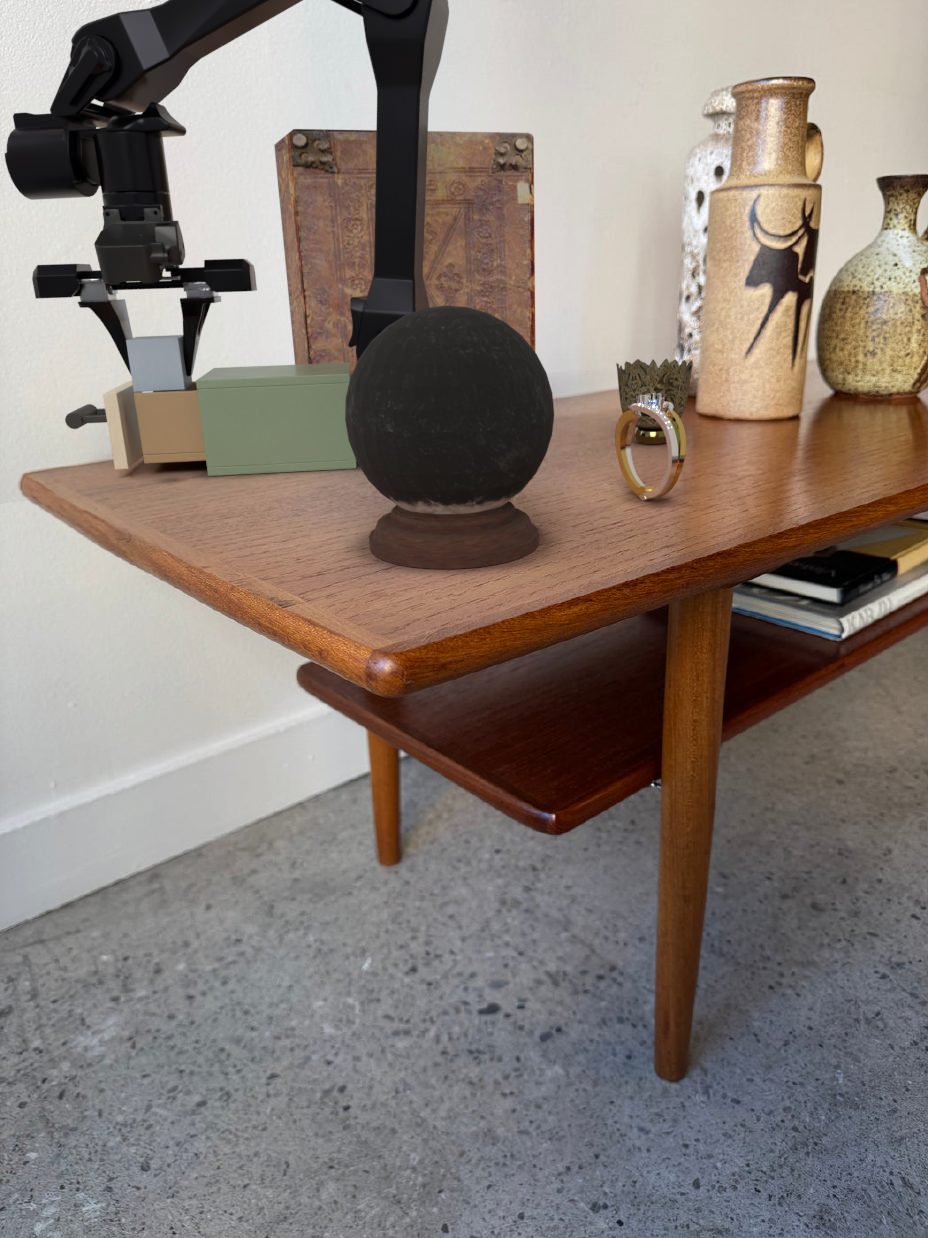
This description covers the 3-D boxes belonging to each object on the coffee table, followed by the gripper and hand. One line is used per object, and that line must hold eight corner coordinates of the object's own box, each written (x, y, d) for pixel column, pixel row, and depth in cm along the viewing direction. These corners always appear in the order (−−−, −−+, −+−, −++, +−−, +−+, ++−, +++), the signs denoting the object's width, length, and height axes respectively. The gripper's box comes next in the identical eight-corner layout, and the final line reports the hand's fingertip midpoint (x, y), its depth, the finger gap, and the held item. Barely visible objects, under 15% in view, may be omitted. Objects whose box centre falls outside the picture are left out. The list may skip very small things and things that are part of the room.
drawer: (66, 472, 83) (52, 395, 81) (95, 451, 93) (84, 382, 91) (253, 462, 85) (245, 387, 83) (263, 443, 95) (256, 375, 92)
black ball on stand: (469, 509, 70) (463, 300, 65) (595, 543, 60) (600, 301, 55) (317, 543, 62) (296, 309, 57) (434, 588, 53) (421, 312, 47)
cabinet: (207, 476, 84) (195, 380, 81) (223, 453, 95) (213, 367, 92) (356, 468, 86) (349, 373, 83) (355, 446, 97) (349, 362, 94)
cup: (639, 433, 99) (641, 356, 96) (702, 439, 95) (706, 358, 92) (601, 445, 94) (602, 364, 91) (666, 451, 89) (669, 366, 86)
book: (506, 417, 113) (502, 144, 102) (536, 427, 105) (536, 132, 94) (300, 434, 105) (273, 141, 95) (315, 447, 97) (288, 127, 87)
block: (192, 384, 89) (186, 334, 88) (184, 389, 85) (177, 337, 83) (143, 386, 89) (136, 336, 87) (133, 391, 84) (125, 339, 83)
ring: (605, 493, 74) (608, 390, 71) (639, 488, 75) (643, 387, 72) (654, 511, 68) (659, 400, 65) (691, 506, 69) (697, 397, 66)
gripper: (-7, 189, 73) (31, 391, 78) (233, 183, 74) (255, 381, 80) (37, 200, 83) (69, 378, 88) (247, 194, 85) (265, 369, 90)
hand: (162, 376), depth 86 cm, fingers closed on block, 4 cm apart
